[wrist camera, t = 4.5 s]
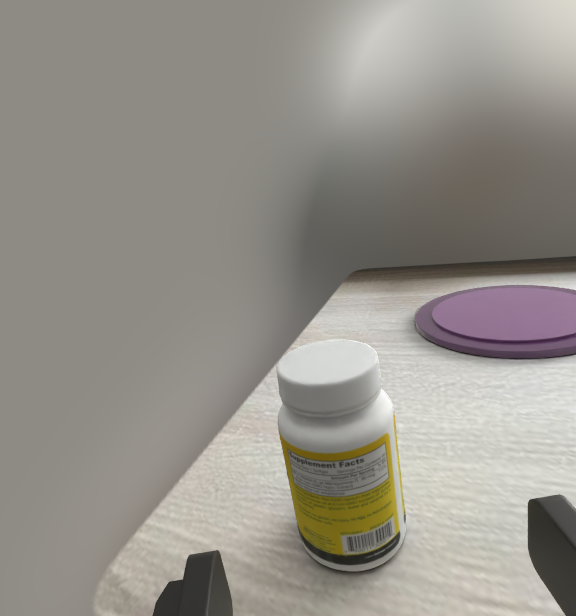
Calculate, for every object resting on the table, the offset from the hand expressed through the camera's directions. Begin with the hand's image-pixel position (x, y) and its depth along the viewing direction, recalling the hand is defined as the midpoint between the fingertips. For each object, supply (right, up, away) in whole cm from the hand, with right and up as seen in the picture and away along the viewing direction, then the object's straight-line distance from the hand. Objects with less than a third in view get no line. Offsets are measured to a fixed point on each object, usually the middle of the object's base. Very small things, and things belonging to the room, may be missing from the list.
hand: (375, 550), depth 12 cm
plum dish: (+17, +5, +28) cm, 33 cm away
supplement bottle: (+1, -4, +9) cm, 9 cm away
